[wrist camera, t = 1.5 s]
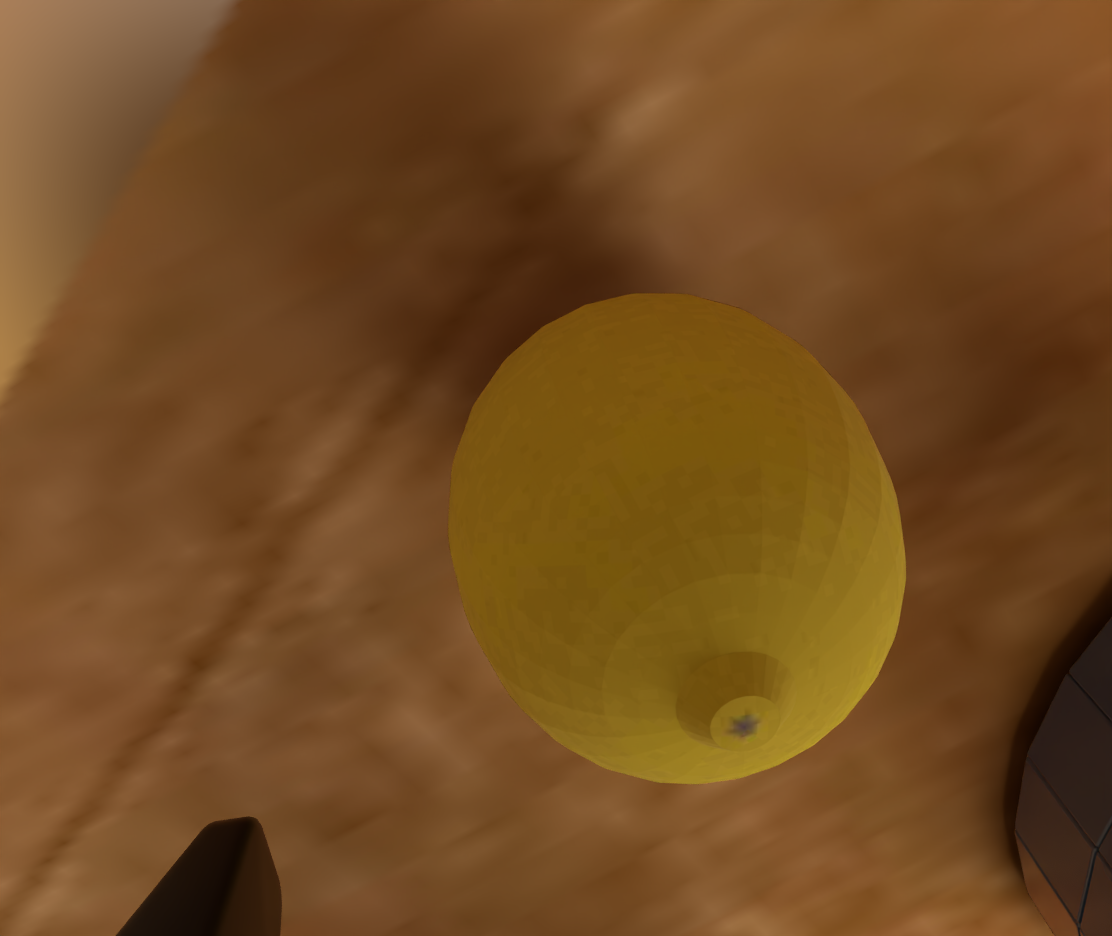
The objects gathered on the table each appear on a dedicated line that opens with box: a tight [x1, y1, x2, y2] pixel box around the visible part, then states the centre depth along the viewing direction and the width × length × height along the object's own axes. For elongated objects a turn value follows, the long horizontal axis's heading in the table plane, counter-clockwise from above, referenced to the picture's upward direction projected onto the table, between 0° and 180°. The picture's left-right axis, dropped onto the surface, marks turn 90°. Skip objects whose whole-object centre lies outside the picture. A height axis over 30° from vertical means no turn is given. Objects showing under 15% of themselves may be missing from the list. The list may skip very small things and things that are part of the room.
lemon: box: [448, 293, 906, 784], centre depth 13 cm, size 6×6×8 cm
